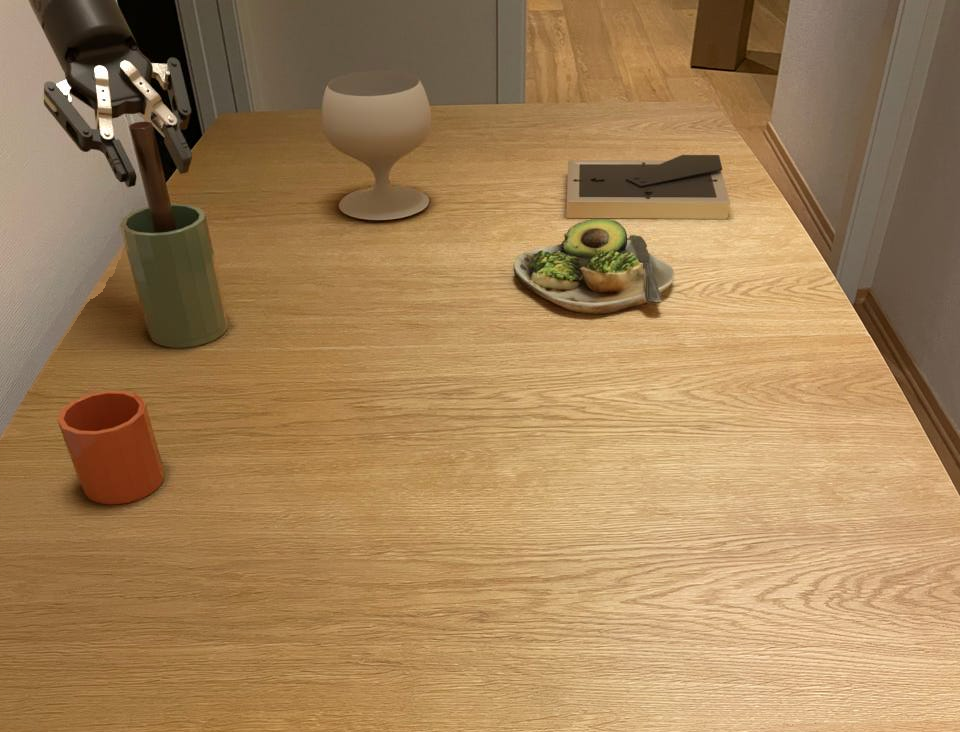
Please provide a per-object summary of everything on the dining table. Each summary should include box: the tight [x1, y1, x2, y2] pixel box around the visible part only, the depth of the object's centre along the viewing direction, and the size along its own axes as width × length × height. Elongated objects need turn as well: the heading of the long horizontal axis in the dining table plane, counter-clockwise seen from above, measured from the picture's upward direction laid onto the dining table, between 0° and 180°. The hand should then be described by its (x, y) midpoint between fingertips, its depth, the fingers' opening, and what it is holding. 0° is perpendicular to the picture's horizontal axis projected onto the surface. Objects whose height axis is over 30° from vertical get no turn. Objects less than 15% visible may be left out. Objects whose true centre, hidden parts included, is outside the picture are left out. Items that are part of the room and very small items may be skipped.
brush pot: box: [57, 389, 165, 505], centre depth 87 cm, size 7×7×7 cm
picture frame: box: [565, 154, 731, 220], centre depth 135 cm, size 16×3×21 cm
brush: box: [128, 121, 177, 233], centre depth 103 cm, size 4×4×20 cm
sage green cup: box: [119, 203, 229, 349], centre depth 106 cm, size 8×8×12 cm
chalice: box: [321, 69, 432, 221], centre depth 131 cm, size 14×14×15 cm
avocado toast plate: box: [512, 218, 676, 315], centre depth 114 cm, size 19×18×5 cm
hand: (158, 174), depth 98 cm, fingers open, 5 cm apart
